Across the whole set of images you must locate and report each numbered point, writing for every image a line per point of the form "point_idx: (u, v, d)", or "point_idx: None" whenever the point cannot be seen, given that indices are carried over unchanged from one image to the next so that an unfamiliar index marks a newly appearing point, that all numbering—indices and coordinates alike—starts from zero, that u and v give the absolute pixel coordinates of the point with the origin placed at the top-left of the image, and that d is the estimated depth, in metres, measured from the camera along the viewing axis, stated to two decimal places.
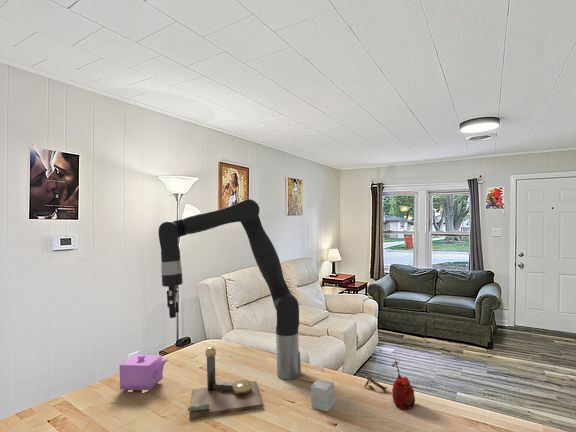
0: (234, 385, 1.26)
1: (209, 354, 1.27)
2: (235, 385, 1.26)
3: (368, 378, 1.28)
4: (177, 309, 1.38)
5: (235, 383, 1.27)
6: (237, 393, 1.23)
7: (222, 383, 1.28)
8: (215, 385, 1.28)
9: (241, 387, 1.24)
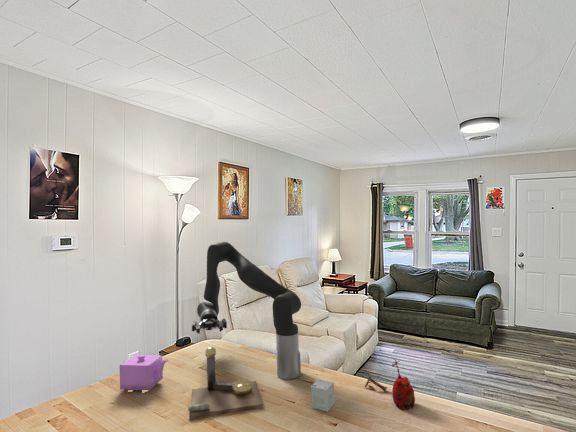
0: (234, 385, 1.26)
1: (209, 354, 1.27)
2: (235, 385, 1.26)
3: (368, 378, 1.28)
4: (219, 326, 1.42)
5: (235, 383, 1.27)
6: (237, 393, 1.23)
7: (222, 383, 1.28)
8: (215, 385, 1.28)
9: (241, 387, 1.24)
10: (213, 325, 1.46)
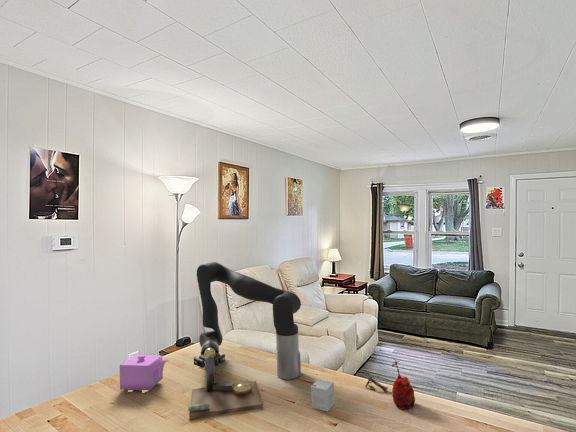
0: (234, 385, 1.25)
1: (208, 355, 1.26)
2: (235, 385, 1.25)
3: (369, 378, 1.28)
4: None
5: (235, 383, 1.27)
6: (238, 393, 1.23)
7: (221, 384, 1.28)
8: (214, 386, 1.27)
9: (241, 387, 1.24)
10: None
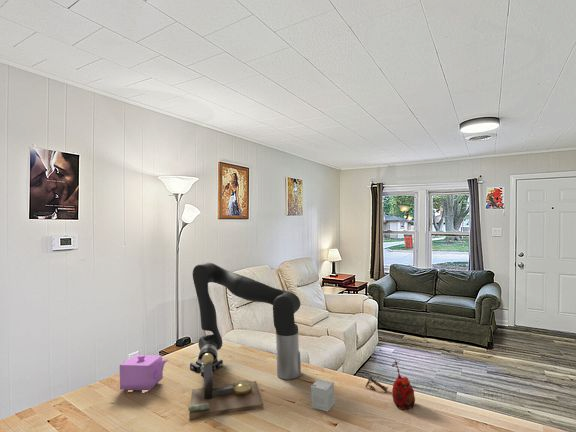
0: (236, 387, 1.24)
1: (209, 360, 1.21)
2: (237, 386, 1.25)
3: (369, 378, 1.28)
4: None
5: (235, 385, 1.26)
6: (242, 393, 1.23)
7: (220, 388, 1.24)
8: (214, 392, 1.22)
9: (245, 387, 1.24)
10: None
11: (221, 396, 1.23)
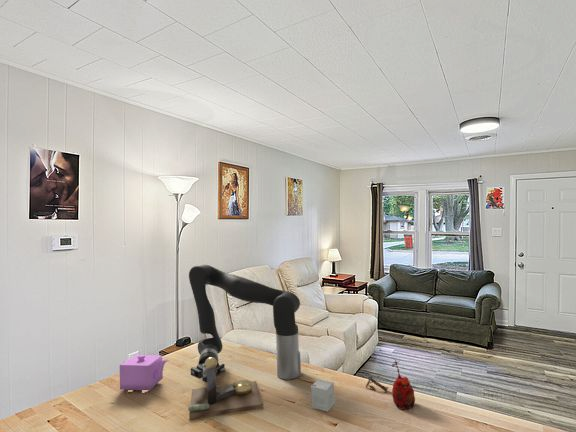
0: (238, 387, 1.24)
1: (214, 364, 1.18)
2: (239, 387, 1.24)
3: (369, 378, 1.28)
4: None
5: (235, 386, 1.25)
6: (246, 392, 1.23)
7: (223, 391, 1.22)
8: (218, 396, 1.19)
9: (247, 386, 1.25)
10: None
11: None
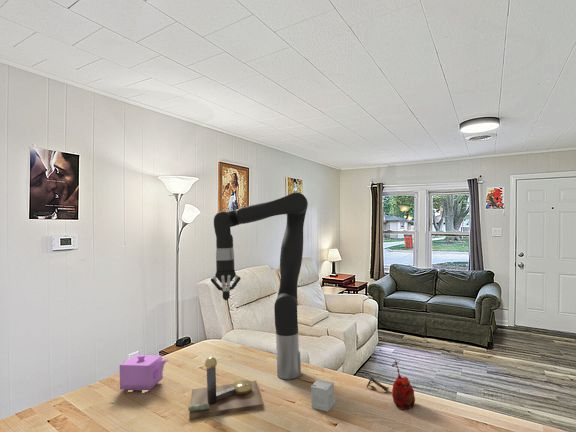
0: (238, 387, 1.24)
1: (214, 364, 1.18)
2: (239, 387, 1.24)
3: (370, 378, 1.28)
4: None
5: (235, 386, 1.25)
6: (246, 392, 1.23)
7: (223, 391, 1.22)
8: (218, 396, 1.19)
9: (247, 386, 1.25)
10: (229, 282, 1.46)
11: None
